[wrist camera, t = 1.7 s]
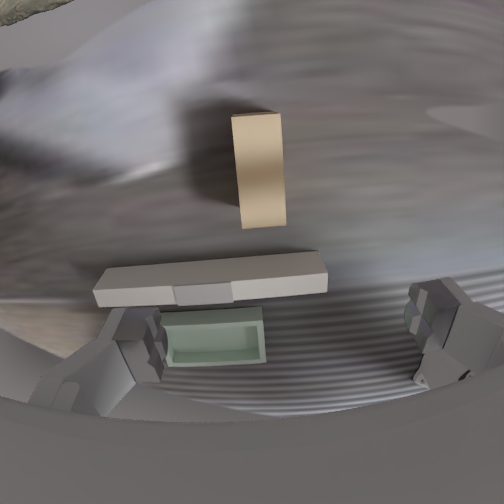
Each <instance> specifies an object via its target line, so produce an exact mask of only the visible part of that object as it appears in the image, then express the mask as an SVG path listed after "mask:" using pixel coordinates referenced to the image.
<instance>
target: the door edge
mask: <svg viewBox="0 0 504 504" xmlns="http://www.w3.org/2000/svg"><path fill="white" fill-rule="evenodd" d="M327 284H328V272H327V269H326V267H325V265H324V263H323V260H322V258H321V256H320V254H319V251H310V252H298V253H286V254H275V255H263V256H251V257H239V258H227V259H214V260H202V261H190V262H178V263H165V264H153V265H140V266H128V267H115V268H107V269H106V270H105V272H104V273H103V275H102V276H101V278H100V279H99V281H98V282H97V284H96V285H95V287H94V288H93V290H92V291H93V293H94V296H95V298H96V301H97V304H98V306H99V307H120V306H147V305H168V304H178V306H187V305H204V304H219V303H233V302H234V300H246V299H259V298H270V297H282V296H293V295H303V294H313V293H323V292H327Z"/></svg>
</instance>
